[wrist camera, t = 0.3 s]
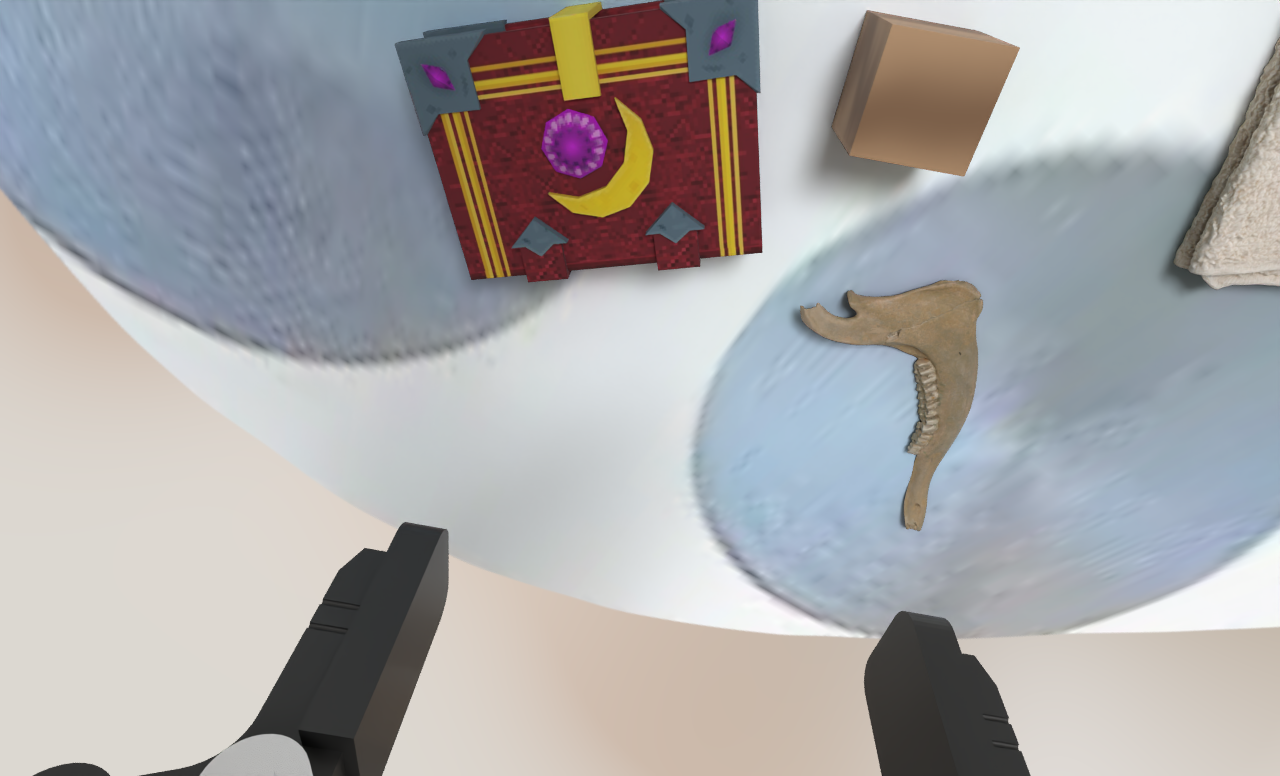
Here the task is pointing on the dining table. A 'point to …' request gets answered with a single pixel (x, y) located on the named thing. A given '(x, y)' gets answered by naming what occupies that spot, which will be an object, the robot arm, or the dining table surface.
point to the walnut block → (920, 92)
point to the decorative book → (596, 135)
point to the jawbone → (920, 363)
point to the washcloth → (1243, 201)
